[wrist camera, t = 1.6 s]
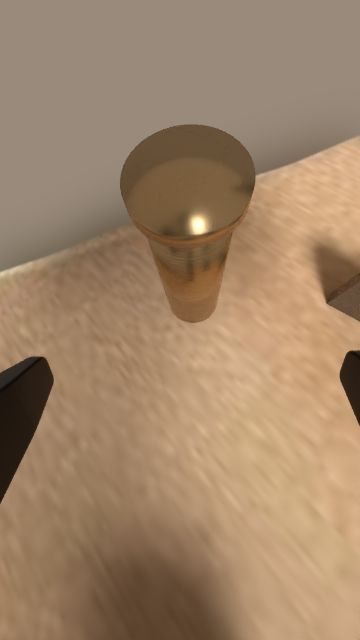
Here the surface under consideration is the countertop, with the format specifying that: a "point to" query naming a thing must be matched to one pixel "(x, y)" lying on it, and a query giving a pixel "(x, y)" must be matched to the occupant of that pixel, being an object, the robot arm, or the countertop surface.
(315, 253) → the countertop surface
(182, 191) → the pin
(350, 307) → the grey ring with arms
